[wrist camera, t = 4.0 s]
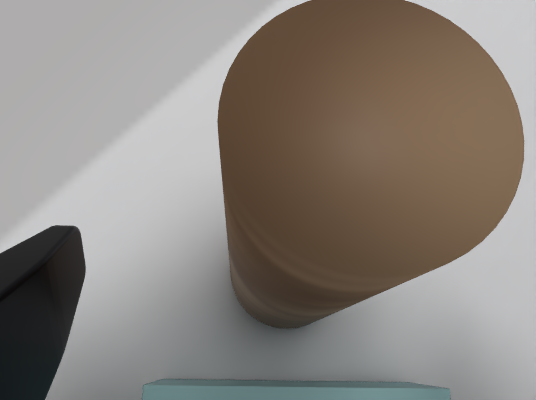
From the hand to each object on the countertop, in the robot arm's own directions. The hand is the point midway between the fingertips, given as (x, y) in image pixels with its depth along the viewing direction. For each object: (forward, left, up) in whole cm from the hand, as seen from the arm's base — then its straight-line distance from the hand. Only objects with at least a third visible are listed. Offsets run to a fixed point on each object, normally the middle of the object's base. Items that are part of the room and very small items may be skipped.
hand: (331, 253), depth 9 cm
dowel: (+1, -1, -9) cm, 9 cm away
